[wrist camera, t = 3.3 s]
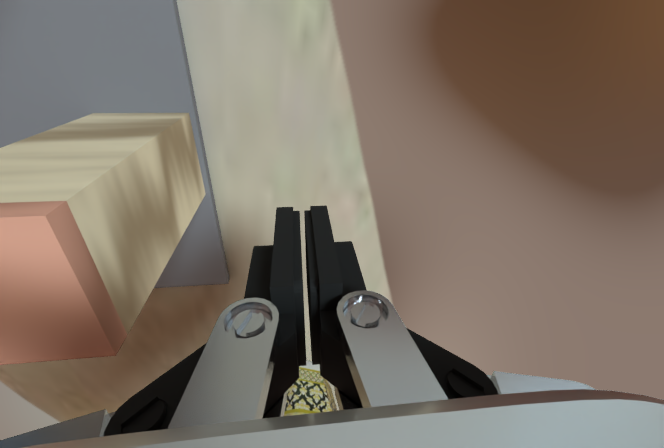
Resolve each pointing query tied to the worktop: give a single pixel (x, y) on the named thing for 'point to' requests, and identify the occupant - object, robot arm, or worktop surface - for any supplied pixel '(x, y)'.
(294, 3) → the worktop surface
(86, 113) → the rubber mat
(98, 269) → the maple block
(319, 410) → the ceramic cup
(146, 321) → the worktop surface
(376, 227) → the worktop surface
